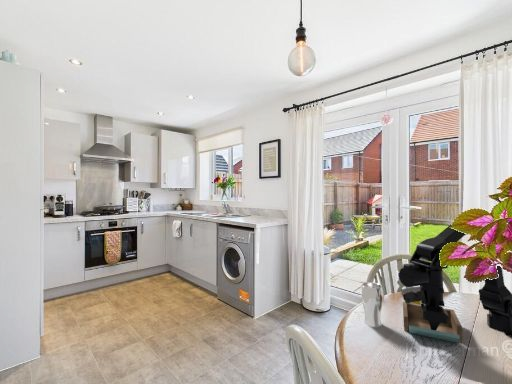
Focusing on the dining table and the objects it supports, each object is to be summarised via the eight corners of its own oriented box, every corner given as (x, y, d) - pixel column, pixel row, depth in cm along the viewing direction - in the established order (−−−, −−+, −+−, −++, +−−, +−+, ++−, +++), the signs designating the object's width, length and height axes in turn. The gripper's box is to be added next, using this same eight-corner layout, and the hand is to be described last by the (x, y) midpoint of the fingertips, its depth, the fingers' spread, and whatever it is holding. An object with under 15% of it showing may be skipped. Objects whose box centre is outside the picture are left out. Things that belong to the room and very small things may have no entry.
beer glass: (385, 331, 90) (384, 289, 90) (364, 330, 91) (363, 288, 91) (380, 322, 96) (379, 282, 97) (361, 320, 98) (359, 281, 98)
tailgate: (455, 339, 82) (459, 335, 77) (456, 343, 82) (459, 338, 77) (409, 330, 88) (409, 325, 84) (409, 333, 88) (409, 328, 83)
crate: (454, 326, 92) (453, 309, 92) (462, 345, 81) (462, 326, 81) (403, 317, 100) (402, 301, 100) (404, 333, 88) (403, 316, 88)
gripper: (402, 270, 93) (403, 312, 93) (402, 288, 77) (404, 339, 77) (439, 274, 88) (441, 319, 88) (448, 295, 72) (449, 350, 72)
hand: (433, 331), depth 81 cm, fingers closed, pressing on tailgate
